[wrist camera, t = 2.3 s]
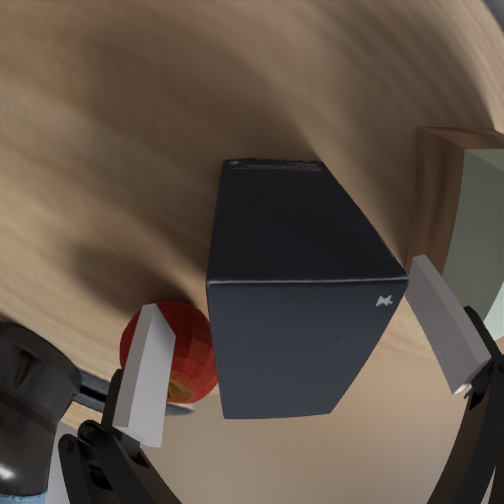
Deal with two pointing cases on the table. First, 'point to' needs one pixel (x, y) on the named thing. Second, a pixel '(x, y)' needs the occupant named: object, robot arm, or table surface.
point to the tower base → (441, 187)
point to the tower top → (480, 239)
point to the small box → (293, 289)
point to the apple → (183, 351)
